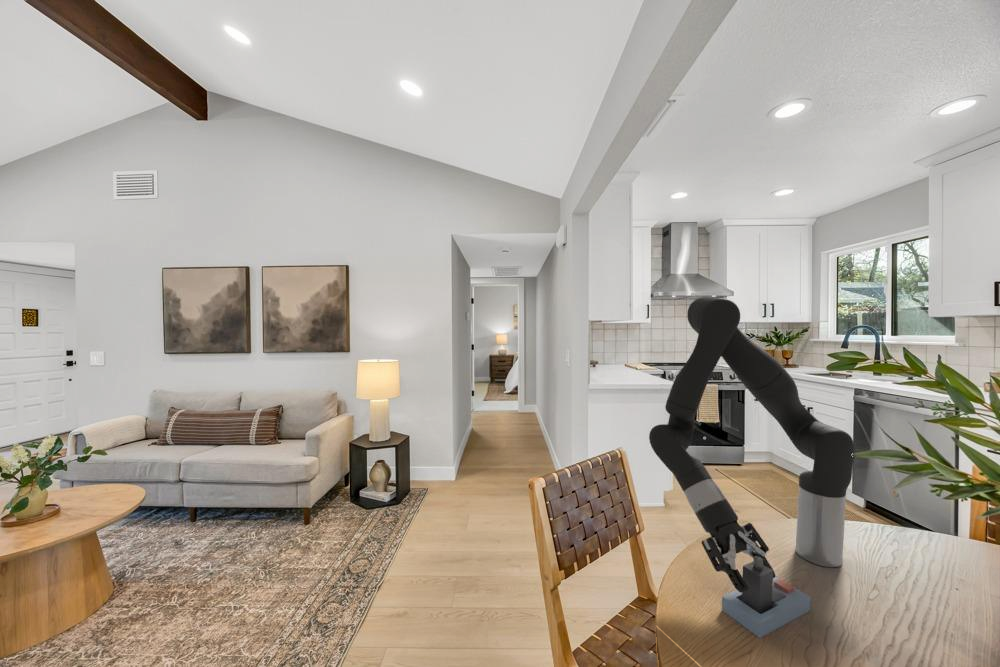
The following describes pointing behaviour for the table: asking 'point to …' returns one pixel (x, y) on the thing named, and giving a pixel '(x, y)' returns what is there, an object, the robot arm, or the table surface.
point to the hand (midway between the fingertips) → (758, 584)
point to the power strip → (784, 609)
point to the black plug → (758, 585)
